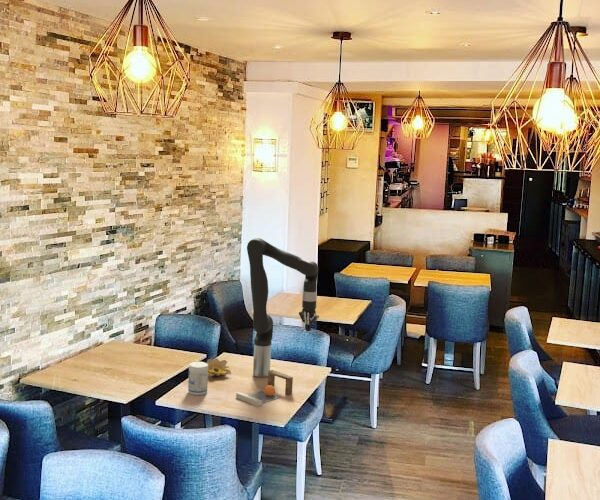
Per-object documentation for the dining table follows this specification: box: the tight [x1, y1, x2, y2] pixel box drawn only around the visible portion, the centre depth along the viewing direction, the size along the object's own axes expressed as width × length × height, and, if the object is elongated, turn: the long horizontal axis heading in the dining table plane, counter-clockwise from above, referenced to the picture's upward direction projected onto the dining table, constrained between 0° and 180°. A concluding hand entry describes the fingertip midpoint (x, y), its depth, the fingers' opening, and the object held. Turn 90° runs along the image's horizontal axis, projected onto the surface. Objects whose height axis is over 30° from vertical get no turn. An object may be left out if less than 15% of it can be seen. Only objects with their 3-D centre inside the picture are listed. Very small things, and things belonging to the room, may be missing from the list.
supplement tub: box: [187, 361, 209, 396], centre depth 347 cm, size 10×10×15 cm
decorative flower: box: [206, 357, 232, 378], centre depth 373 cm, size 15×11×10 cm
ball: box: [263, 384, 276, 396], centre depth 347 cm, size 6×6×6 cm
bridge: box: [267, 369, 294, 397], centre depth 354 cm, size 3×14×9 cm, turn 48°
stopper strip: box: [235, 391, 263, 407], centre depth 339 cm, size 2×16×2 cm, turn 48°
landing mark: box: [248, 390, 281, 405], centre depth 345 cm, size 13×13×1 cm
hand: (308, 330), depth 372 cm, fingers closed
